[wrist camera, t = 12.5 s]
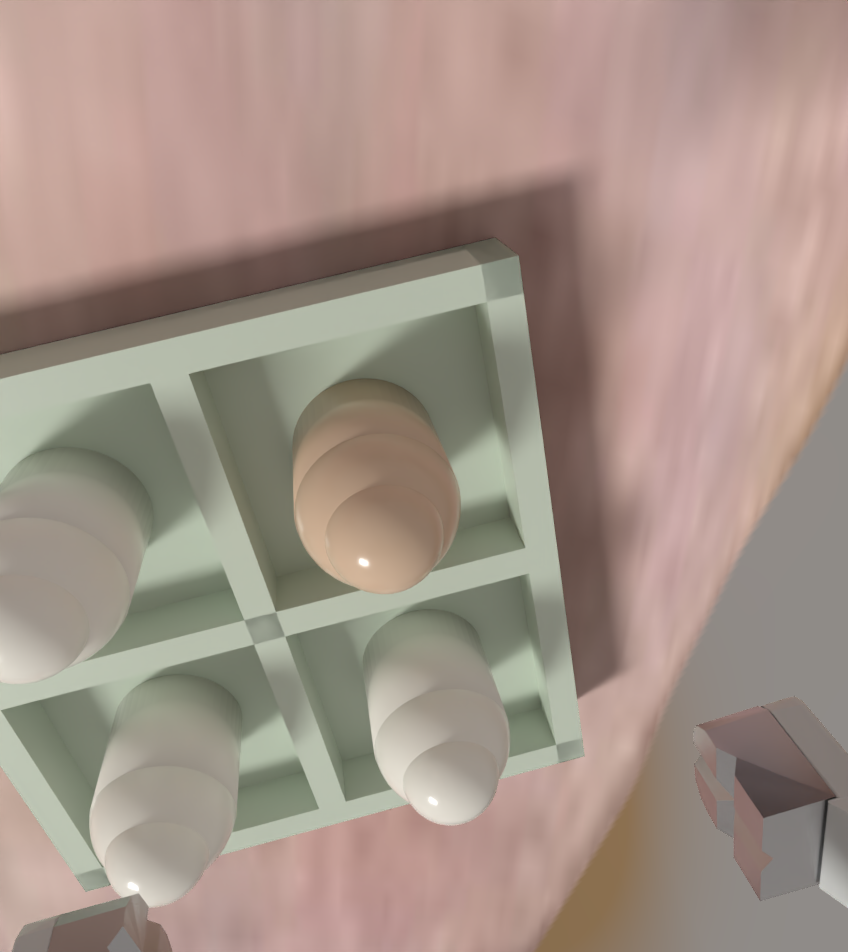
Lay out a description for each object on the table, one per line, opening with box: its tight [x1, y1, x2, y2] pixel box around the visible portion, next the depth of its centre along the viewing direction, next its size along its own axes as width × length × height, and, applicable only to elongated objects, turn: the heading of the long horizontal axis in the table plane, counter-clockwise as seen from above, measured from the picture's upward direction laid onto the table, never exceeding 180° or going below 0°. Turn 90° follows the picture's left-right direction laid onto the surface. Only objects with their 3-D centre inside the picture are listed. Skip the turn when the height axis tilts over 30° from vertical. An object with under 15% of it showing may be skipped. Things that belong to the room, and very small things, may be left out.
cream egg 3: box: [363, 609, 510, 826], centre depth 25 cm, size 4×4×7 cm
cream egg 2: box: [89, 675, 243, 908], centre depth 25 cm, size 4×4×7 cm
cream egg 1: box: [0, 447, 154, 684], centre depth 20 cm, size 4×4×7 cm
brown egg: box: [292, 378, 461, 594], centre depth 21 cm, size 4×4×7 cm
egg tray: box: [0, 238, 584, 892], centre depth 25 cm, size 19×19×2 cm
